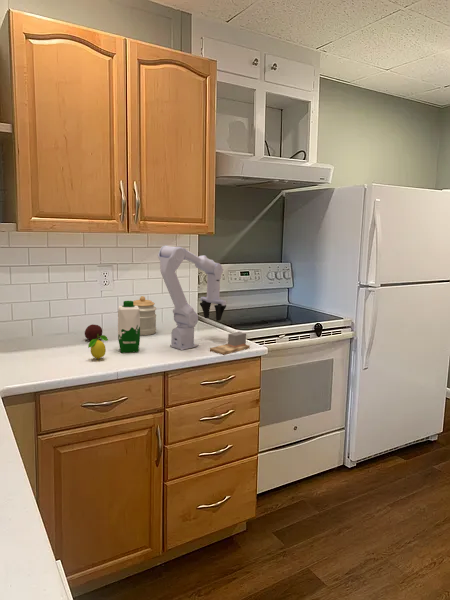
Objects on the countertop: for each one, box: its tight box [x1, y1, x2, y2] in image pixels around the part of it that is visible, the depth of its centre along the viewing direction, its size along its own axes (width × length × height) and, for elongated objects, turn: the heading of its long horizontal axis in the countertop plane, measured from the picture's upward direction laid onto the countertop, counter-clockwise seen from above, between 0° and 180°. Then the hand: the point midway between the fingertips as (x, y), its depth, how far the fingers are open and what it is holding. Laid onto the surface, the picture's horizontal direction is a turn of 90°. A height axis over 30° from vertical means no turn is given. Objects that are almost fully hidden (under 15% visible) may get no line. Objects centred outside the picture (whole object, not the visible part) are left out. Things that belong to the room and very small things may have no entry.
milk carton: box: [117, 300, 141, 354], centre depth 191 cm, size 9×9×20 cm
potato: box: [84, 323, 103, 341], centre depth 207 cm, size 7×8×7 cm
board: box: [209, 343, 251, 356], centre depth 198 cm, size 16×8×1 cm, turn 136°
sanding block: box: [227, 331, 247, 347], centre depth 201 cm, size 7×4×5 cm, turn 136°
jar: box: [132, 295, 157, 336], centre depth 222 cm, size 13×13×18 cm
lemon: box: [87, 334, 109, 360], centre depth 178 cm, size 7×6×10 cm
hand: (212, 319), depth 211 cm, fingers open, 7 cm apart
